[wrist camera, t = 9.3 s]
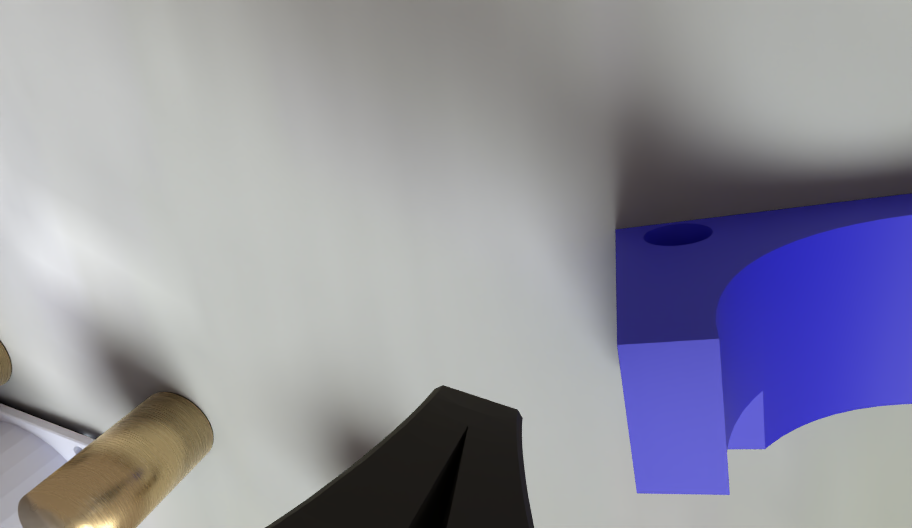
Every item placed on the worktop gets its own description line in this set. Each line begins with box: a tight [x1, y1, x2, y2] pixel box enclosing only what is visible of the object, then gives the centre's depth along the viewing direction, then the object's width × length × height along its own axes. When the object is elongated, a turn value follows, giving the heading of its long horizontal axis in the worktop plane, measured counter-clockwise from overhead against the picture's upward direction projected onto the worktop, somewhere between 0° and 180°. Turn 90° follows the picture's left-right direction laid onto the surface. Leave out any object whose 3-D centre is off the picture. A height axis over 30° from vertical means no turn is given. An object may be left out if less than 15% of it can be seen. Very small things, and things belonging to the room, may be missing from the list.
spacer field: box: [0, 342, 213, 528], centre depth 15 cm, size 21×23×5 cm
